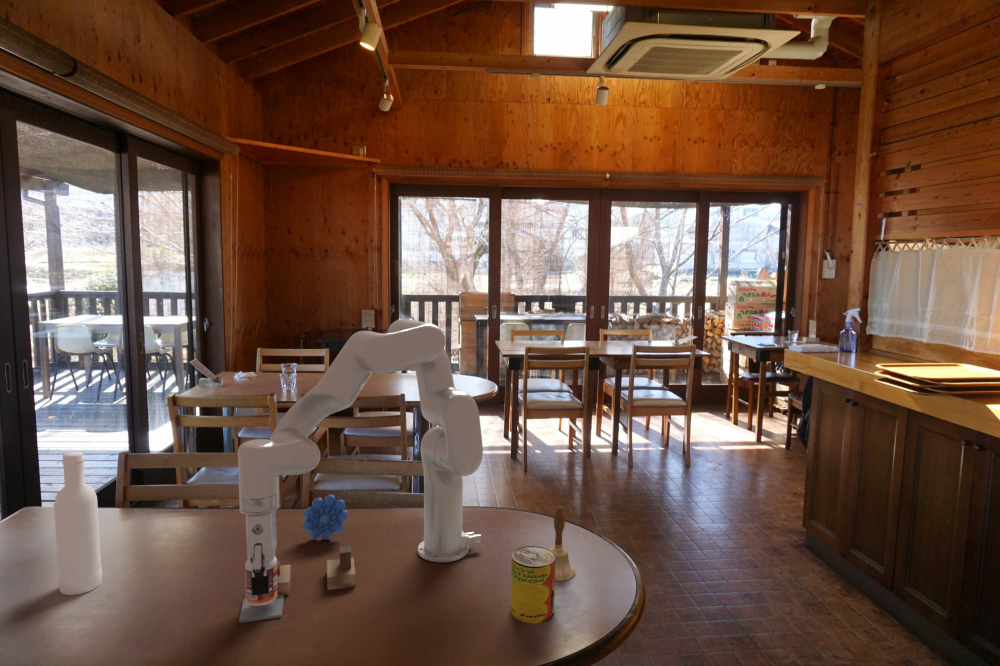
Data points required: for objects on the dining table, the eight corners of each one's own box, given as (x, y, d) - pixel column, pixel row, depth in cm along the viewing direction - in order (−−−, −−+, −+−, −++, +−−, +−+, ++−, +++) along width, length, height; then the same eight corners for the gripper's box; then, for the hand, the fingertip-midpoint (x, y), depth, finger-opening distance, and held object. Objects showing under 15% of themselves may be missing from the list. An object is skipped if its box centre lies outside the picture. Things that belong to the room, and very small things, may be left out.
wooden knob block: (353, 569, 145) (353, 540, 145) (355, 586, 138) (355, 556, 137) (262, 580, 140) (261, 550, 139) (259, 598, 132) (258, 567, 131)
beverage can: (541, 628, 123) (542, 570, 122) (502, 614, 128) (503, 558, 126) (561, 607, 130) (562, 553, 129) (524, 595, 135) (525, 542, 134)
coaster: (283, 596, 133) (283, 594, 133) (281, 617, 125) (281, 614, 125) (243, 601, 131) (243, 599, 131) (239, 622, 123) (238, 620, 123)
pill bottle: (280, 601, 127) (280, 549, 126) (249, 610, 124) (248, 556, 122) (273, 588, 132) (273, 537, 131) (242, 596, 129) (242, 544, 128)
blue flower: (351, 531, 166) (351, 488, 164) (346, 543, 159) (346, 498, 158) (307, 532, 165) (306, 488, 163) (300, 543, 158) (299, 498, 157)
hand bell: (582, 572, 146) (584, 507, 144) (560, 585, 140) (562, 517, 138) (554, 560, 151) (556, 497, 149) (532, 572, 145) (533, 507, 143)
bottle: (98, 573, 142) (90, 445, 138) (106, 586, 136) (99, 454, 133) (55, 585, 136) (46, 453, 133) (63, 600, 131) (53, 461, 127)
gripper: (276, 516, 118) (278, 605, 120) (281, 485, 135) (283, 563, 137) (233, 520, 116) (236, 610, 118) (244, 487, 133) (247, 567, 135)
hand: (262, 584), depth 128 cm, fingers closed on pill bottle, 6 cm apart
